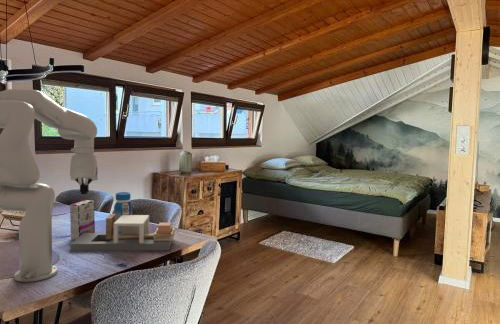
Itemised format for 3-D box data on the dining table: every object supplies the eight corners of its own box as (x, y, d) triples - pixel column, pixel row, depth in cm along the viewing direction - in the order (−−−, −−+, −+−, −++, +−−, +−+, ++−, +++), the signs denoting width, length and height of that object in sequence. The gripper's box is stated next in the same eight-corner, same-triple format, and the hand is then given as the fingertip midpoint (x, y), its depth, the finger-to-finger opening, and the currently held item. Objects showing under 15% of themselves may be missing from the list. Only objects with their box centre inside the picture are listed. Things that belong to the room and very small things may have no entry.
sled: (172, 240, 150) (172, 219, 150) (105, 240, 147) (105, 218, 146) (174, 233, 160) (175, 213, 160) (111, 234, 157) (111, 213, 156)
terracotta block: (169, 236, 153) (169, 225, 152) (157, 236, 152) (158, 225, 152) (170, 233, 158) (170, 222, 157) (159, 233, 157) (159, 222, 157)
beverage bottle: (110, 235, 165) (110, 194, 164) (118, 230, 174) (118, 191, 172) (128, 236, 165) (128, 195, 163) (134, 231, 173) (134, 192, 172)
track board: (169, 250, 148) (169, 223, 147) (70, 251, 143) (70, 223, 142) (173, 238, 163) (173, 214, 162) (84, 239, 159) (84, 214, 158)
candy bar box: (86, 233, 168) (85, 199, 167) (95, 233, 167) (95, 200, 166) (69, 239, 157) (69, 204, 156) (79, 240, 156) (79, 204, 155)
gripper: (62, 151, 143) (62, 195, 144) (99, 152, 145) (99, 195, 146) (69, 150, 151) (69, 192, 152) (105, 151, 152) (104, 192, 154)
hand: (84, 193), depth 149 cm, fingers closed
